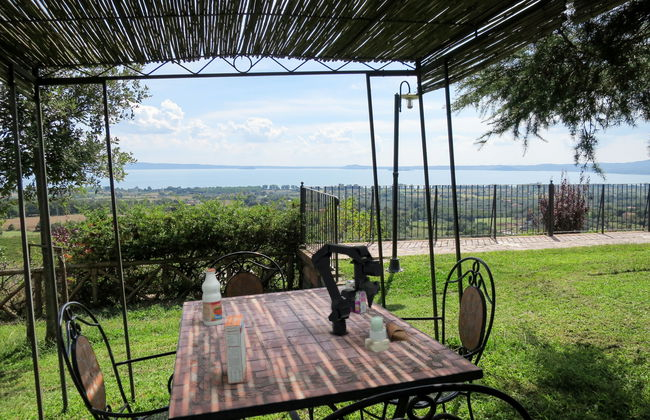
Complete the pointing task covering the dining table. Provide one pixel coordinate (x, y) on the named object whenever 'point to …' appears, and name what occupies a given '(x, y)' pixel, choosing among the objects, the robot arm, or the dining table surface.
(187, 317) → the dining table surface
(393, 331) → the sunglasses case
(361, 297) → the candy bar box
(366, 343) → the birch base block
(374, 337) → the grey top block
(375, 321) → the mint green cylinder
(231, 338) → the cracker box
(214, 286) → the fruit juice
